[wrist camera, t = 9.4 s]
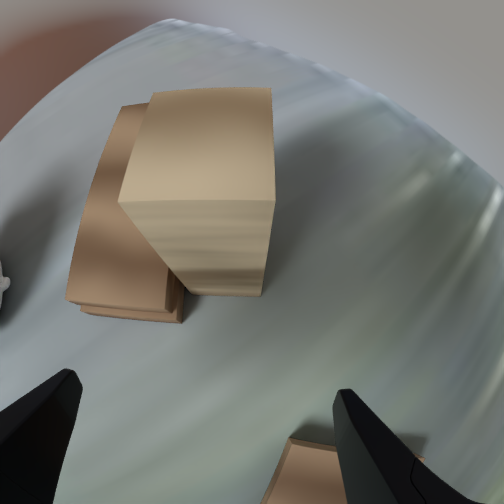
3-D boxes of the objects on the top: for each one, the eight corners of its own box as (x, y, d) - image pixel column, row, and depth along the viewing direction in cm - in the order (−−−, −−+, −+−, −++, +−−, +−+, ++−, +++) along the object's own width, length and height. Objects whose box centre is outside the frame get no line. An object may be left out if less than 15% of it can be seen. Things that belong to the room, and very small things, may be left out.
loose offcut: (378, 526, 12) (386, 534, 11) (254, 516, 13) (254, 527, 12) (414, 453, 14) (425, 458, 13) (288, 437, 15) (291, 444, 14)
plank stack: (182, 323, 18) (168, 316, 15) (88, 314, 18) (64, 305, 15) (205, 124, 24) (201, 98, 21) (131, 129, 24) (122, 106, 21)
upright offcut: (260, 296, 19) (275, 200, 8) (192, 294, 19) (117, 202, 8) (261, 227, 21) (271, 87, 9) (198, 226, 21) (153, 92, 9)
